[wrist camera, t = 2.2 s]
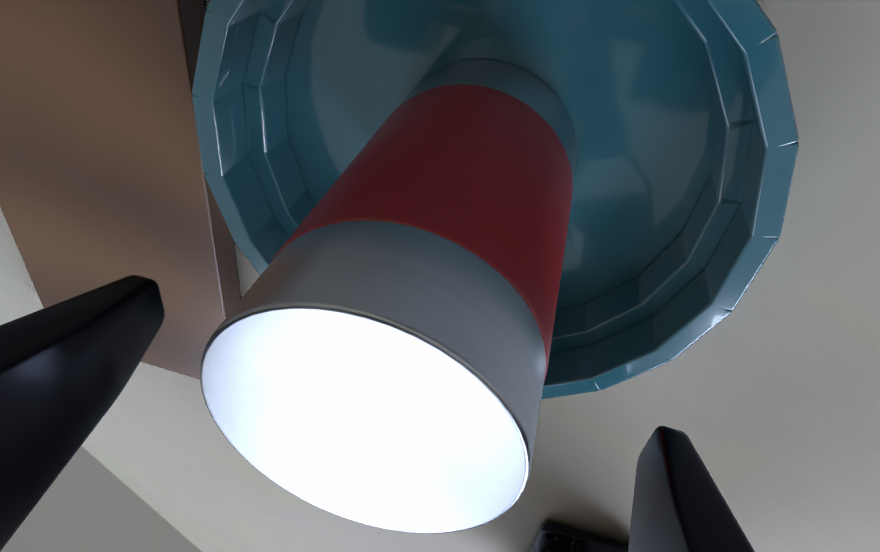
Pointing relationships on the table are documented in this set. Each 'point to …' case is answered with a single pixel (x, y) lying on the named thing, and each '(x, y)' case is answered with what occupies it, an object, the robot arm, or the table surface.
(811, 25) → the table surface
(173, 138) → the board
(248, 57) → the dish
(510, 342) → the can
